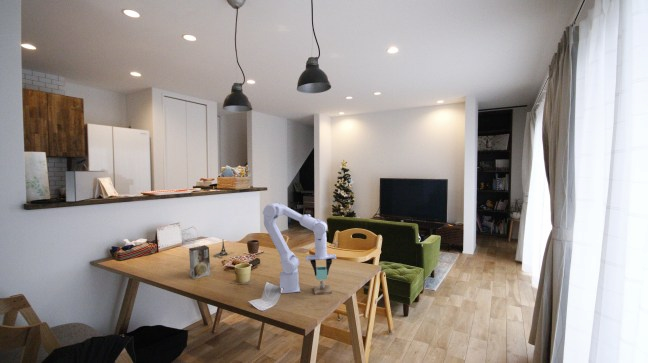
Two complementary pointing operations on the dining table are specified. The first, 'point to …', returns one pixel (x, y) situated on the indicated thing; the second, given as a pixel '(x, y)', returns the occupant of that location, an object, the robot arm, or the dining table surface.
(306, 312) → the dining table surface
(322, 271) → the teal hollow block
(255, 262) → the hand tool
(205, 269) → the coffee box
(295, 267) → the robot arm
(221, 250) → the eiffel tower figurine
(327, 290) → the pin plate
